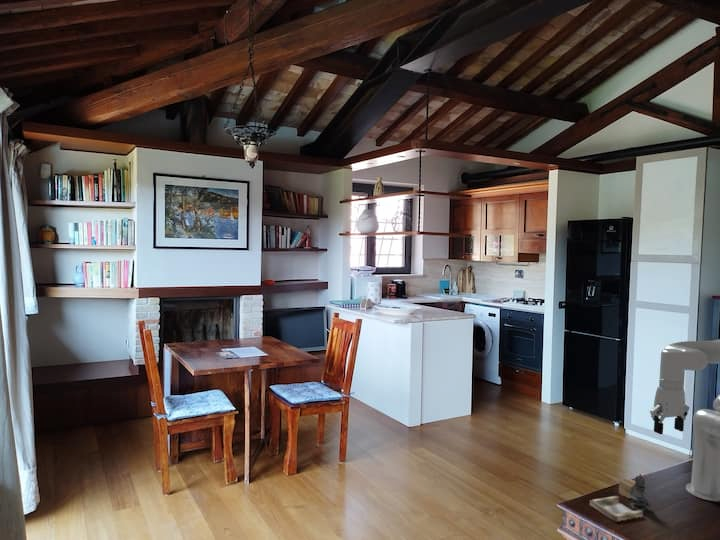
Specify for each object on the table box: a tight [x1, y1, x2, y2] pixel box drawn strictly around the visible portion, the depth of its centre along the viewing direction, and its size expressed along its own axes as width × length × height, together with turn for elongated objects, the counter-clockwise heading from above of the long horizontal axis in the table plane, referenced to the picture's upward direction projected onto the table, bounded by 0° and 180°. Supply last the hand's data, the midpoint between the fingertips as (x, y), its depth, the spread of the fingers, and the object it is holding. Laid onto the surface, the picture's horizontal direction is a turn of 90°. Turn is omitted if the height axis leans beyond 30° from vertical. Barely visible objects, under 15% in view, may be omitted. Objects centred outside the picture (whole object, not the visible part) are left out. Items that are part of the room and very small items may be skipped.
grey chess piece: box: [629, 473, 649, 512], centre depth 184 cm, size 6×6×12 cm
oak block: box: [618, 478, 635, 500], centre depth 192 cm, size 5×5×5 cm
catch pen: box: [589, 495, 644, 523], centre depth 181 cm, size 12×11×2 cm
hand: (668, 431), depth 187 cm, fingers open, 9 cm apart
